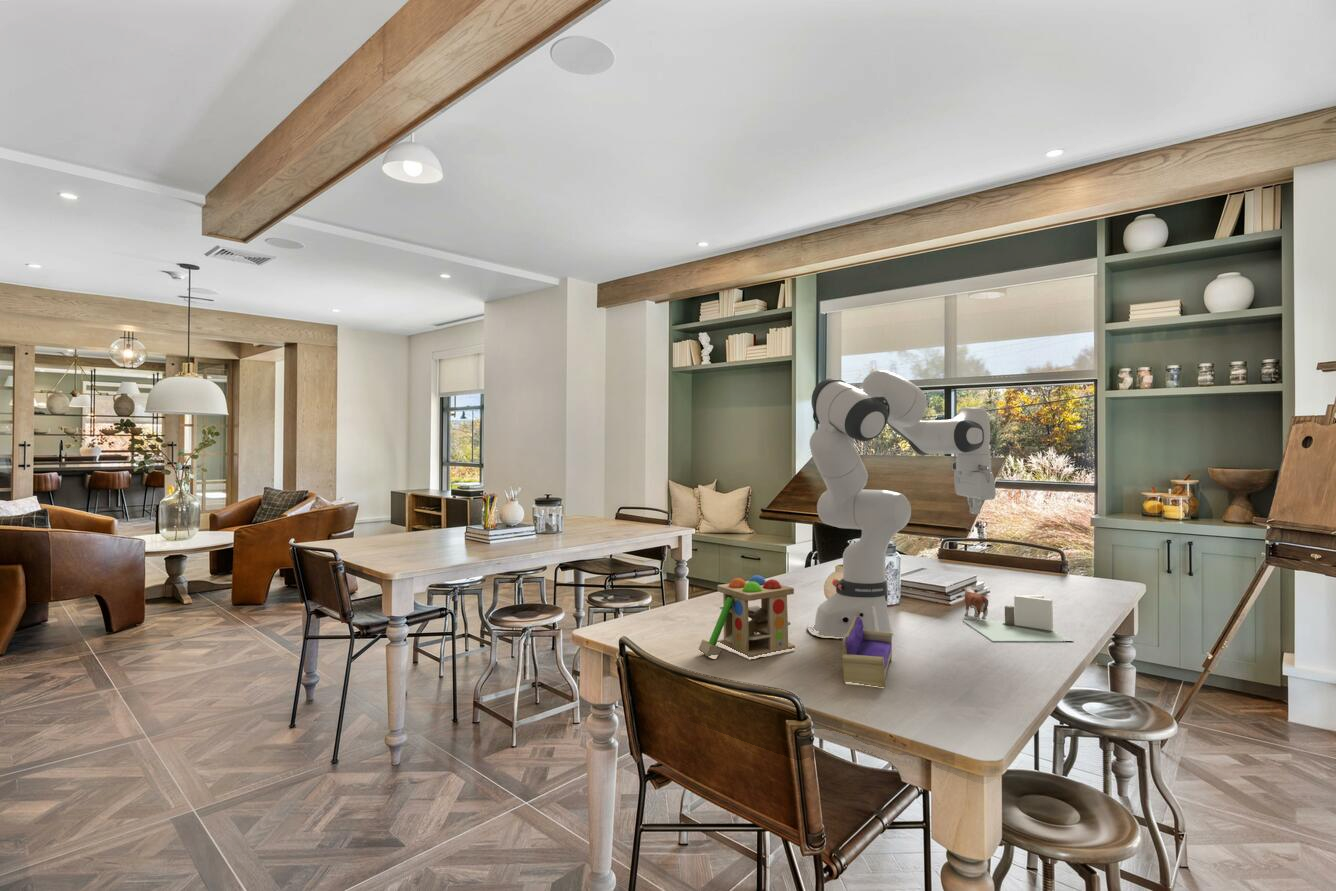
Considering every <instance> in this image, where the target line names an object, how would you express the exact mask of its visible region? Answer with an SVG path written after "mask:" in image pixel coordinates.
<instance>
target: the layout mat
mask: <svg viewBox="0 0 1336 891" xmlns="http://www.w3.org/2000/svg"><path fill="white" fill-rule="evenodd" d="M963 621H964V622H965V624H966V625H967V624H968V625H967V626H969V627H970V626H971V627H970V628H971V629H973V630H974V631H976V632H977V633H979V634H980V633H981V634H980V635H982V636H983V635H984V637H985V638H986V637H987V638H986V639H988V640H989V639H990V641H991V642H992V643H1066V642H1065V641H1074V640H1073V639H1072V638H1070V637H1067V636H1065V635H1063V634H1061V632H1057V631H1056V630H1054V629H1053V630H1052V631H1050V630H1044V629H1037V628H1031V627H1024V626H1018V625H1006V624H1005V620H979V621H977V620H963ZM964 622H963V623H964ZM1063 641H1064V642H1063Z"/></svg>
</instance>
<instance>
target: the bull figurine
mask: <svg viewBox="0 0 1336 891" xmlns="http://www.w3.org/2000/svg"><path fill="white" fill-rule="evenodd" d="M961 591H962V592H964V602H965V613H964V616H969V611H970V608H971V609H973V610H974V614H973V616H974V617H976V619H975V621H981V620H987V619H986V618H987V616H988V612H989V610H988V607H989V599H988V598H987V597H986V596H985V595H982V594H979V593H978V592H979V590H978V589H974V588H973V587H972V586H967V587H966V588H965V587H962V588H961ZM981 613H982V617H980V616H981Z"/></svg>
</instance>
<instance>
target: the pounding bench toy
mask: <svg viewBox="0 0 1336 891" xmlns="http://www.w3.org/2000/svg"><path fill="white" fill-rule="evenodd" d="M716 589H717V592H718V593H722V596H723V606H720V607H719V608H720V610H721V612H720V614H719V616H718V619H717V621H716V624H715V626H714V628H713V631H712V633H711V636H710V638H709V641H707V640H705V639H702V640H701V642H700V645H699V646H698V650H700V651H701V652H703V653H704V654H705V655H704V654H703V653H702V654H703V655H704V656H706V655H707V656H711V655H718V654H719V655H720V652H721V650H722V648H719V647H717V642H720V643H722V644H724V645H726V646H728V647H730V648H732V649H734V650H736V651H738V652H740V653H743V654H745V655H747V656H748V657H754V656H758V655H762V654H767V653H771V652H776V651H781V650H786V649H792V648H795V649H796V646H795V644H793V643H790V642H789V626H790V625H791V622H790V621H789V619H788V596H790V595H794V593H795V592H794V591H795V589H794V587H792V586H789V585H788V586H787V585H784V584H781V583H780V582H779V581H778V580H776V579H772V578H771V579H768V580H766V579H765V578H764V577H763V576H762V575H758V574H755V575H753V576H752V577H750V579H749V580H746V581H745V580H744V579H742V578H740V577H736V578H735V577H734V578H733V579H732V580H730V582H728V583H724V584H717V588H716ZM757 600H760V603H761V604H760V606H761V607H760V606H759V605H754V606H750V607H749V602H750V601H751V602H752V601H757ZM749 618H750V620H749ZM722 630H723V639H719V637H720V635H721V632H722ZM700 651H699V652H700ZM701 652H700V653H701ZM719 655H718V656H719ZM707 656H706V657H707Z"/></svg>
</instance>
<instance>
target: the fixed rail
mask: <svg viewBox="0 0 1336 891" xmlns="http://www.w3.org/2000/svg"><path fill="white" fill-rule="evenodd" d="M1019 596H1027V597H1035V598H1043V599H1045V596H1044V595H1041V594H1037V595H1036V594H1035V595H1033V594H1031V595H1030V594H1028V595H1027V594H1026V595H1023V594H1022V595H1019ZM1004 621H1005V624H1006V625H1015V609H1014V606H1013V605H1004Z"/></svg>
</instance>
